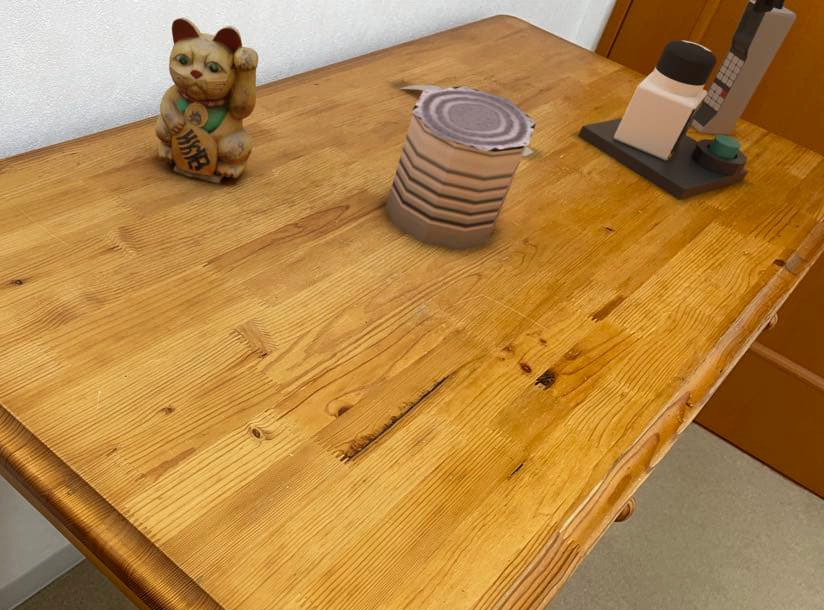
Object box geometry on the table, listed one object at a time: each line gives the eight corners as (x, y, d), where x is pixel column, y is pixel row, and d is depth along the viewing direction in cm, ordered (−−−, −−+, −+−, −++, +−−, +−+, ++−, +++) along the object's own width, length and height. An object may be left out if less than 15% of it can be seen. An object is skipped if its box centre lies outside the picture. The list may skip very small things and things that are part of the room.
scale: (741, 184, 107) (756, 159, 105) (677, 203, 100) (692, 176, 98) (641, 126, 116) (653, 101, 113) (576, 139, 109) (587, 113, 106)
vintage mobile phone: (684, 123, 119) (786, -72, 102) (712, 125, 121) (818, -67, 104) (699, 136, 117) (806, -62, 100) (728, 137, 118) (838, -57, 101)
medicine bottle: (666, 162, 103) (718, 65, 95) (612, 139, 106) (657, 42, 97) (680, 144, 108) (730, 51, 100) (627, 123, 110) (672, 29, 102)
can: (514, 245, 86) (560, 136, 78) (426, 262, 81) (466, 146, 73) (447, 187, 93) (484, 81, 85) (362, 199, 88) (393, 87, 79)
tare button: (738, 158, 105) (746, 145, 104) (724, 162, 104) (732, 148, 102) (717, 146, 107) (724, 133, 106) (703, 149, 105) (710, 136, 104)
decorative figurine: (146, 176, 83) (156, 20, 73) (163, 139, 90) (175, -10, 79) (242, 197, 84) (266, 44, 74) (253, 158, 90) (276, 13, 80)
